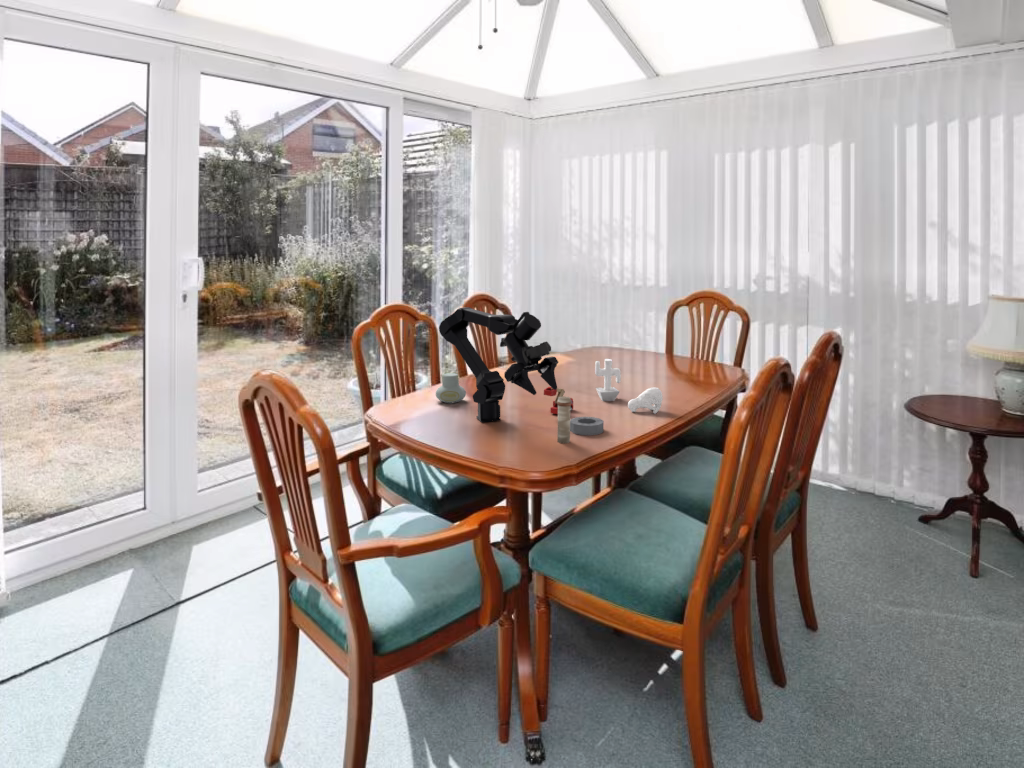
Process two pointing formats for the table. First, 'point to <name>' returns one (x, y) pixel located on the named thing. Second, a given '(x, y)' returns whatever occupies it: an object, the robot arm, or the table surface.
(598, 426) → the grey ring
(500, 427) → the table surface
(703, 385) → the table surface
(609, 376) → the figurine
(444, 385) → the air freshener
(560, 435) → the birch peg
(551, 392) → the toy fire truck
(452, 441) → the table surface
